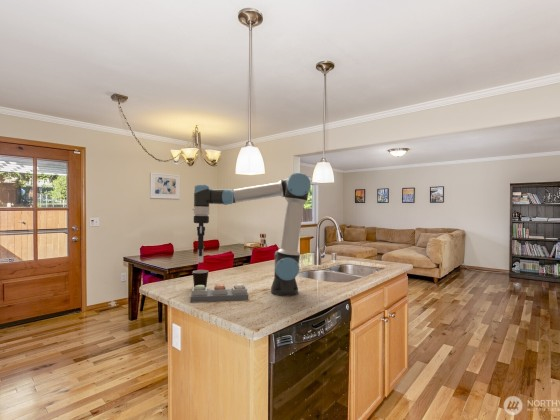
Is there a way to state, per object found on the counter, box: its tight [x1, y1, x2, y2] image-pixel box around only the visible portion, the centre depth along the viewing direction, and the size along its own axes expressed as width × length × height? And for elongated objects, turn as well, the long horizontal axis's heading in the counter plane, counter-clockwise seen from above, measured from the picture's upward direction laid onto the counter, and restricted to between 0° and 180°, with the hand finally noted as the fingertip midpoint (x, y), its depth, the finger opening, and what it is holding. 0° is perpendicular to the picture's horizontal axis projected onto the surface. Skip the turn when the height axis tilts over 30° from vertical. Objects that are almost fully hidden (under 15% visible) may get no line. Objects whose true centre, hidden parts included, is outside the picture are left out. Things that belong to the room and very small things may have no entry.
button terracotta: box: [214, 283, 226, 290], centre depth 159 cm, size 5×5×2 cm
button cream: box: [234, 283, 245, 289], centre depth 161 cm, size 5×5×2 cm
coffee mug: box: [192, 269, 209, 287], centre depth 175 cm, size 12×9×10 cm
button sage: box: [195, 285, 205, 291], centre depth 157 cm, size 5×5×2 cm
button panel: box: [190, 285, 249, 303], centre depth 159 cm, size 28×12×5 cm, turn 103°
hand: (200, 261), depth 157 cm, fingers open, 2 cm apart
